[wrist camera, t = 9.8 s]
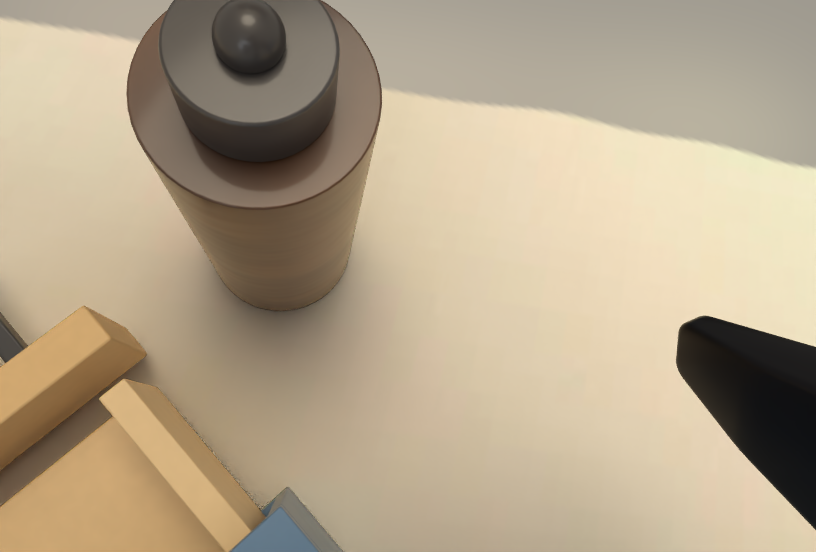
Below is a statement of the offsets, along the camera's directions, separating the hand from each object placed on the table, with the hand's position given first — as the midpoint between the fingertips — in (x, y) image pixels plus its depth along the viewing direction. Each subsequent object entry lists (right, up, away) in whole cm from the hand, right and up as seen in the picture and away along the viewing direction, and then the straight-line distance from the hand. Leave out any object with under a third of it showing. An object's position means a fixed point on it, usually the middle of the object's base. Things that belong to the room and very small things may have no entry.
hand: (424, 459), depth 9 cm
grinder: (-5, +4, +14) cm, 15 cm away
